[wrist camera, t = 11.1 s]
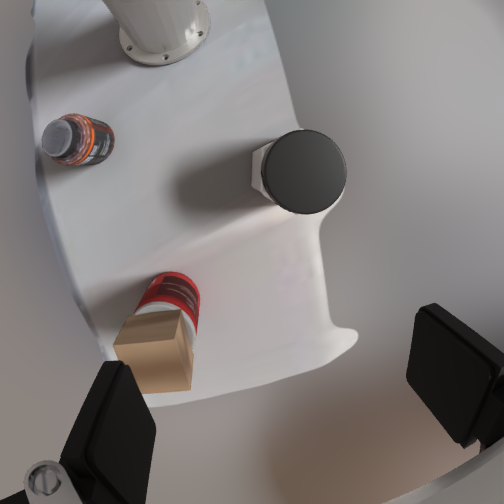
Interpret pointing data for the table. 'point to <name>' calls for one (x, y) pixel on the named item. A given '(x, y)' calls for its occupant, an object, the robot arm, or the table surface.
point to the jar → (300, 171)
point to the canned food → (173, 299)
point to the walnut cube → (157, 351)
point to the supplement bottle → (78, 140)
